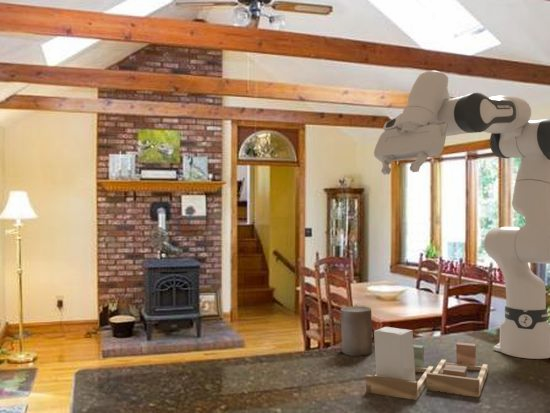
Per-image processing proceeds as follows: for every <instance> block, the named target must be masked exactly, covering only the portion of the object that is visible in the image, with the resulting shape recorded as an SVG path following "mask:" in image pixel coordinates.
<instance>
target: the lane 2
mask: <svg viewBox="0 0 550 413" xmlns="http://www.w3.org/2000/svg"><path fill="white" fill-rule="evenodd" d="M455 345H456V350H455V351H456V352H455V353H456V363H455V362H453V363H452V362H447V359H443V358H442V359H441V360H440V361H439V362H438V363H437V366H436V367H435V368H434V372H433V373H428V372H427V385H426V390H427V391H431V392H438V391H440V393H441V392H442V393H445V392H446V393H447V394H453V393H454V394H455V395H460V394H461V396H468V397H475V398H480V396H481V394H482V391H483V390H482V389H483V386H484V385H485V381H486V379H487V376H488V373H489V364H486V363H482V366H481V365H477V349H476V348H477V344H476V343H469V342H459V341H457V342H456V344H455ZM446 364H447V365H456V366H465V367H467V370H469V371H470V370H471V371H479V374H478V376H477V378H476V377H475V378H474V377H468V376H467V377H460V376H452V375H444V374H443V369H444V368H445V366H446ZM454 394H453V395H454Z"/></svg>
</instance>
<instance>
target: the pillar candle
mask: <svg viewBox="0 0 550 413" xmlns="http://www.w3.org/2000/svg"><path fill="white" fill-rule="evenodd" d="M372 318H373V317H372V309H371V307H368V306H360V305H359V306H358V305H357V304H356V305H355V306H354V305H353V306H345V307H344V306H343V307H341V308H340V320H341V321H340V324H341V326H340V328H341V330H340V331H341V332H340V333H341V336H340V337H341V352H342V353H343V354H345V355H348V356H353V357H357V356H358V357H362V356H368V355H371V354H373V326H372V323H373V320H372Z"/></svg>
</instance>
